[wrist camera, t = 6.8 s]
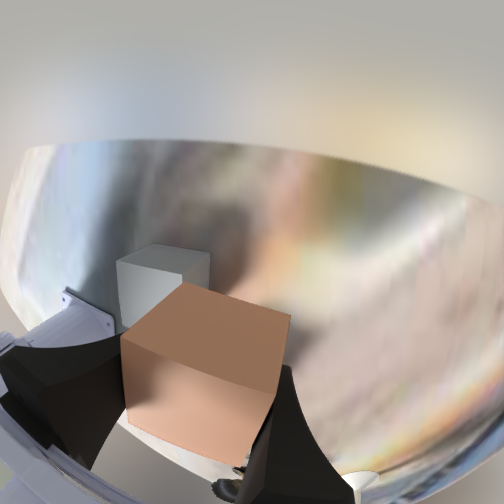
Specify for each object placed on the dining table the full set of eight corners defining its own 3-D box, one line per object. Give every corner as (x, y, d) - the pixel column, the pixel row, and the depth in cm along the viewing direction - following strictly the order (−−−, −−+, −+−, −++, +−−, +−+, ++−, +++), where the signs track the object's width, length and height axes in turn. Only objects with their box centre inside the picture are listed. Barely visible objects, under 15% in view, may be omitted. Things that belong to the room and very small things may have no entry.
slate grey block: (208, 311, 22) (182, 344, 17) (154, 298, 23) (122, 325, 18) (211, 252, 20) (182, 274, 16) (153, 242, 21) (115, 260, 17)
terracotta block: (262, 392, 13) (240, 467, 8) (174, 361, 14) (128, 422, 9) (291, 315, 12) (275, 395, 7) (184, 281, 12) (120, 336, 8)
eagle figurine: (259, 448, 24) (202, 470, 25) (281, 502, 19) (218, 517, 20) (292, 448, 29) (240, 470, 30) (312, 491, 23) (255, 510, 24)
